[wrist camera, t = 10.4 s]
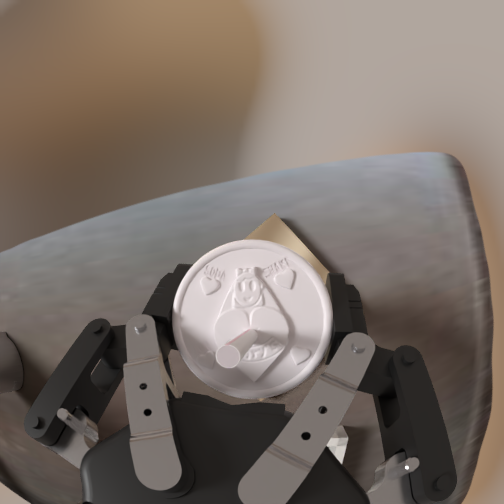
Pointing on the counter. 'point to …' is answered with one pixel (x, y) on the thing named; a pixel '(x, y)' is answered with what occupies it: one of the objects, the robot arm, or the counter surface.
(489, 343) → the counter surface
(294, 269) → the smoothie
